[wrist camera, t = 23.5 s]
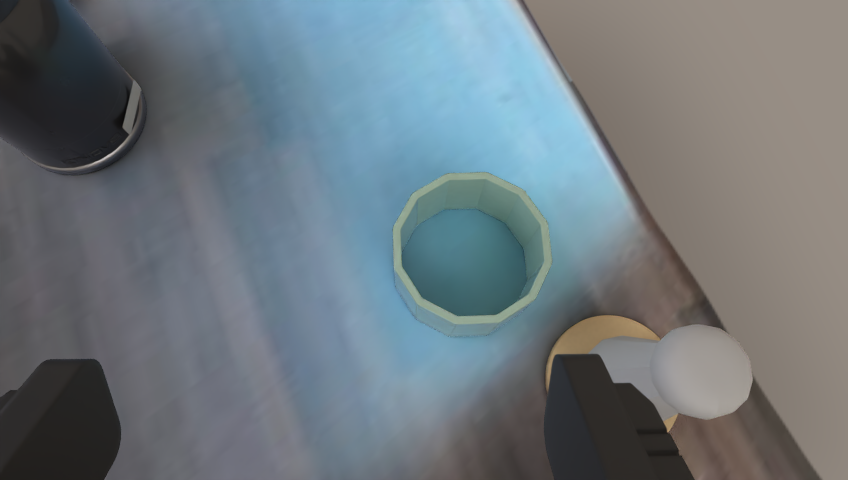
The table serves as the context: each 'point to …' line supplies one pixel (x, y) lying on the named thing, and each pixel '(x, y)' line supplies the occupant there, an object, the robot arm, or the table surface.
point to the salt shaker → (682, 370)
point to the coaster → (598, 340)
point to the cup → (494, 201)
